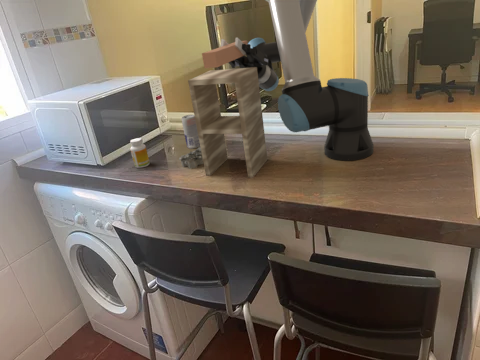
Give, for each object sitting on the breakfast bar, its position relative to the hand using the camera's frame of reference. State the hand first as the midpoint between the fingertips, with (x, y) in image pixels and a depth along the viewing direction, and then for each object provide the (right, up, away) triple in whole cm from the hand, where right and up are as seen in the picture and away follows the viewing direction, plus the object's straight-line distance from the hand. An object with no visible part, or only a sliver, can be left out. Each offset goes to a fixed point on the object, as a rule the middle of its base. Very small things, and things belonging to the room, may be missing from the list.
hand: (229, 42), depth 114 cm
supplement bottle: (-32, -36, +23) cm, 54 cm away
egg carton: (-12, -35, +19) cm, 42 cm away
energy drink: (-15, -28, +35) cm, 47 cm away
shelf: (+2, -37, +10) cm, 38 cm away
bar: (0, -5, 0) cm, 5 cm away
